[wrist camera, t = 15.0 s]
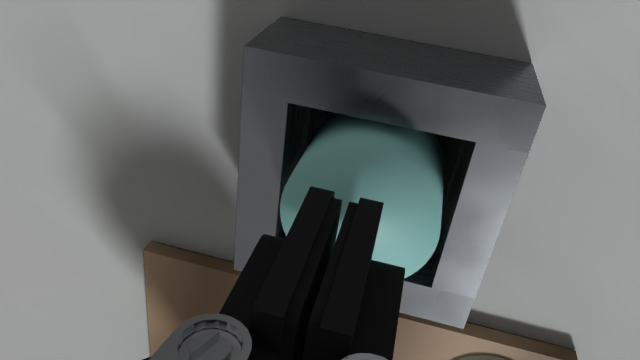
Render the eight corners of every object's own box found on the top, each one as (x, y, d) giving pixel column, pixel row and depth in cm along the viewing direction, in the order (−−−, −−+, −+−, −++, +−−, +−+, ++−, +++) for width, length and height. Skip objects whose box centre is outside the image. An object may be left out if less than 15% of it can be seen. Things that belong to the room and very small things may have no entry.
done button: (460, 117, 14) (459, 170, 12) (427, 235, 16) (420, 301, 14) (317, 88, 15) (286, 133, 12) (302, 205, 17) (274, 264, 15)
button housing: (532, 63, 14) (546, 105, 12) (464, 264, 18) (463, 328, 15) (281, 16, 15) (243, 45, 13) (265, 216, 19) (233, 269, 16)
